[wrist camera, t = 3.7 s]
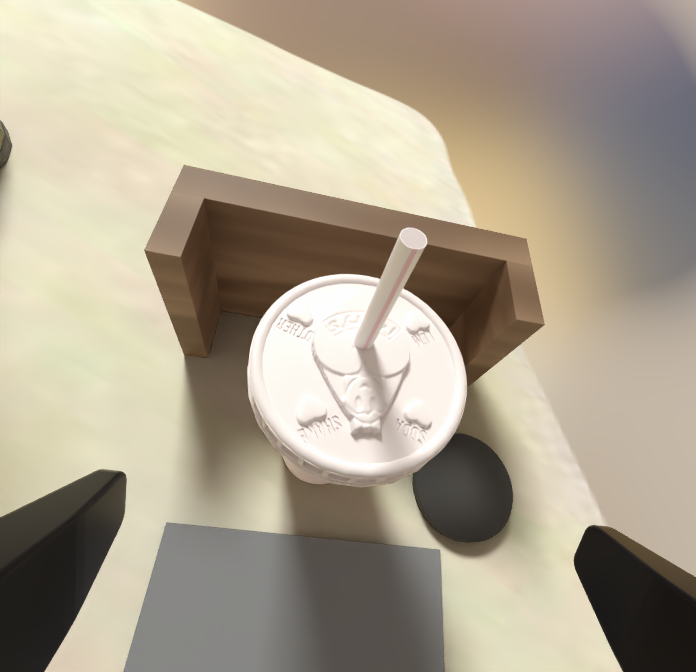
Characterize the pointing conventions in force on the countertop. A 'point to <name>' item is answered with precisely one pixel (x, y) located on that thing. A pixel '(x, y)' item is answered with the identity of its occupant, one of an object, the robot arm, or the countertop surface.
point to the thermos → (4, 144)
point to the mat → (288, 605)
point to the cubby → (330, 261)
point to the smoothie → (357, 376)
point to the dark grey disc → (464, 490)
